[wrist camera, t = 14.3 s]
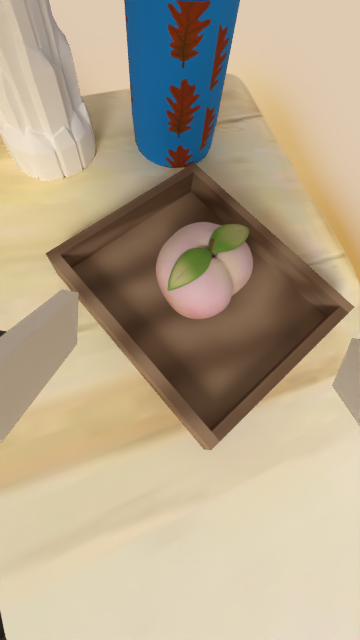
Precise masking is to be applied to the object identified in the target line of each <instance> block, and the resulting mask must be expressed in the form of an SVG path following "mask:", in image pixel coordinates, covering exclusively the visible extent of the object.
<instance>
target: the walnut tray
mask: <svg viewBox="0 0 360 640" xmlns="http://www.w3.org/2000/svg"><path fill="white" fill-rule="evenodd" d="M198 222H209V223H213V224H217V225H221V226H222V225H226V224H239V225H243V226H245V227H247V228H248V229H249V235H248V237H247V239H246V240H245V242H246V243H247V245H248V246H249V248H250V251H251V254H252V258H253V269H252V273H251V276H250V278H249V280H248V281H247V283H246V284H245V285H244V286H243V287H242V288H241V289H240V290H239V291H238V292H237V293H236V294H234V295H233V296H231V300H230V302H229V304H228V305H227V307H226V308H225V309H224V310H223V311H222V312H220V313H219V314H217V315H215V316H213V317H210V318H205V319H191V318H188V317H185V316H183V315H181V314H179V313H178V312H176V311H175V310H174V309H173V308H172V307H171V305H170V304H169V303H168V301H167V300H166V298H165V297H164V295H163V293H162V291H161V289H160V287H159V284H158V281H157V277H156V263H157V258H158V255H159V253H160V251H161V249H162V247H163V245H164V244H165V243H166V242H167V240H168V239H169V238H170V237H171V236H173V235H174V234H175V233H176V232H177V231H178V230H180V229H181V228H183V227H185V226H187V225H190V224H193V223H198ZM46 255H47V257H48V258H49V260H50V262H51V263H52V265H53V267H54V269H55V270H56V272H57V274H58V275H59V276H60V277H61V279H62V280H63V281H64V282H65V283H66V285H67V286H68V287H69V288H70V289H71V291H73V292H78V299H79V300H80V301H81V303H82V304H83V305H84V306H85V307H86V309H87V310H88V311H89V312H90V313H91V315H92V316H93V317H94V318H95V319H96V321H97V322H98V323H99V324H100V325H101V326H102V328H103V329H104V330H105V331H106V332H107V334H108V335H109V336H110V337H111V338H112V340H113V341H114V342H115V343H116V344H117V346H118V347H119V348H120V349H121V350H122V352H123V353H124V354H125V355H126V356H127V358H128V359H129V360H130V361H131V362H132V364H133V365H134V366H135V367H136V368H137V370H138V371H139V372H140V373H141V374H142V376H143V377H144V378H145V379H146V380H147V382H148V383H149V384H150V385H151V386H152V388H153V389H154V390H155V391H156V392H157V394H158V395H159V396H160V397H161V398H162V400H163V401H164V402H165V403H166V404H167V405H168V407H169V408H170V409H171V410H172V411H173V413H174V414H175V415H176V416H177V417H178V419H179V420H180V421H181V422H182V423H183V425H184V426H185V427H186V428H187V429H188V431H189V432H190V433H191V434H192V435H193V437H194V438H195V439H196V440H197V441H198V443H199V444H200V445H201V446H202V447H203V449H207V450H212V449H213V448H214V447H215V446H216V445H217V444H218V443H219V442H220V441H221V440H222V439H223V438H224V437H225V436H226V435H227V434H228V433H229V432H230V431H231V430H232V429H233V428H234V427H235V426H236V425H237V424H238V423H239V422H240V421H241V420H242V419H243V418H244V417H245V416H246V415H247V414H248V413H249V412H250V411H251V410H252V409H253V408H254V407H255V406H256V405H257V404H258V403H259V402H260V401H261V400H262V399H263V398H264V397H265V396H266V395H267V394H268V393H269V392H270V391H271V390H272V389H273V388H274V387H275V386H276V385H277V384H278V383H279V382H280V381H281V380H282V379H283V378H284V377H285V376H286V375H287V374H288V373H289V372H290V371H291V370H292V369H293V368H294V367H295V366H296V365H297V364H298V363H299V362H300V361H301V360H302V359H303V358H304V357H305V356H306V355H307V354H308V353H309V352H310V351H311V350H312V349H313V348H314V347H315V346H316V345H317V344H318V343H319V342H320V341H321V340H322V339H323V338H324V337H325V336H326V335H327V334H328V333H329V332H330V331H331V330H332V329H333V328H334V327H335V326H336V325H337V324H338V323H339V322H340V321H341V320H342V319H343V318H344V317H345V316H346V315H347V314H348V313H349V312H350V311H351V310H352V309H353V308H354V306H352V305H351V304H350V303H349V302H348V301H347V300H346V299H345V298H344V297H342V296H341V295H340V294H339V293H338V292H337V291H336V290H335V289H334V288H332V287H331V286H330V285H329V284H328V283H327V282H326V281H325V280H324V279H322V278H321V277H320V276H319V275H318V274H317V273H316V272H315V271H314V270H312V269H311V268H310V267H309V266H308V265H307V264H306V263H305V262H304V261H302V260H301V259H300V258H299V257H298V256H297V255H296V254H295V253H294V252H292V251H291V250H290V249H289V248H288V247H287V246H286V245H285V244H283V243H282V242H281V241H280V240H279V239H278V238H277V237H276V236H275V235H273V234H272V233H271V232H270V231H269V230H268V229H267V228H266V227H265V226H263V225H262V224H261V223H260V222H259V221H258V220H257V219H256V218H255V217H253V216H252V215H251V214H250V213H249V212H248V211H247V210H246V209H245V208H243V207H242V206H241V205H240V204H239V203H238V202H237V201H236V200H235V199H233V198H232V197H231V196H230V195H229V194H228V193H227V192H226V191H225V190H223V189H222V188H221V187H220V186H219V185H218V184H217V183H216V182H215V181H213V180H212V179H211V178H210V177H209V176H208V175H207V174H206V173H204V172H203V171H202V170H201V169H200V168H199V167H198V166H197V165H196V164H194V163H193V164H192V165H190V166H188V167H187V168H185V169H184V170H182V171H180V172H179V173H177V174H175V175H174V176H172V177H170V178H169V179H167V180H166V181H164V182H162V183H161V184H159V185H157V186H156V187H154V188H152V189H151V190H149V191H147V192H146V193H144V194H143V195H141V196H139V197H138V198H136V199H134V200H133V201H131V202H129V203H128V204H126V205H124V206H123V207H121V208H120V209H118V210H116V211H115V212H113V213H111V214H110V215H108V216H106V217H105V218H103V219H102V220H100V221H98V222H97V223H95V224H93V225H92V226H90V227H88V228H87V229H85V230H83V231H82V232H80V233H79V234H77V235H75V236H74V237H72V238H70V239H69V240H67V241H65V242H64V243H62V244H60V245H59V246H57V247H56V248H54V249H52V250H51V251H49V252H47V253H46Z"/></svg>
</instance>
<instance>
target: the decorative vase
mask: <svg viewBox="0 0 360 640" xmlns="http://www.w3.org/2000/svg"><path fill="white" fill-rule="evenodd" d="M0 135H1V137H2V139H3V141H4V143H5V145H6V147H7V150H8V152H9V154H10V156H11V158H12V159H13V161H14V162H15V164H16V165H17V167H18V168H19V169H20V170H21V171H22V172H23V173H25V174H26V175H28V176H30V177H32V178H34V179H38V178H39V179H40V180H42V181H54V180H62V179H63V178H64V176H66V177H71V176H74V175H76V174H78V173H80V172H82V171H83V168H86V167H87V166H88V165H89V164H90V162H91V161H92V160H93V158H94V156H95V152H96V143H95V138H94V133H93V128H92V123H91V118H90V115H89V112H88V110H87V108H86V106H85V104H84V102H83V100H82V98H81V96H80V91H79V86H78V82H77V77H76V73H75V68H74V63H73V59H72V55H71V51H70V47H69V45H68V42H67V40H66V37H65V35H64V34H63V33H62V31H61V30H60V29H59V28H58V26H57V24H56V22H55V20H54V19H53V16H52V12H51V8H50V4H49V0H0Z"/></svg>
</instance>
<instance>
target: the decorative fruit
mask: <svg viewBox="0 0 360 640" xmlns="http://www.w3.org/2000/svg"><path fill="white" fill-rule="evenodd" d="M248 235H249V229H248V228H247V227H245V226H243V225H239V224H226V225H222V226H221V225H217V224H213V223H209V222H198V223H193V224H190V225H187V226H185V227H183V228H181V229H180V230H178V231H177V232H176V233H175V234H174V235H173V236H171V237H170V238H169V239H168V240H167V242H166V243H165V244H164V245H163V247H162V249H161V251H160V253H159V255H158V258H157V263H156V277H157V281H158V284H159V287H160V289H161V291H162V293H163V295H164V297H165V298H166V300H167V301H168V303H169V304H170V305H171V307H172V308H173V309H174V310H175V311H176V312H178V313H179V314H181V315H183V316H185V317H188V318H191V319H205V318H210V317H213V316H215V315H217V314H219V313H220V312H222V311H223V310H224V309H225V308H226V307H227V305H228V304H229V302H230V300H231V296H233V295H234V294H236V293H237V292H238V291H239V290H240V289H241V288H242V287H243V286H244V285H245V284H246V283H247V281H248V280H249V278H250V276H251V273H252V269H253V258H252V254H251V251H250V248H249V246H248V245H247V243H246V242H245V240H246V239H247V237H248Z"/></svg>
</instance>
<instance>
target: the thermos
mask: <svg viewBox="0 0 360 640" xmlns="http://www.w3.org/2000/svg"><path fill="white" fill-rule="evenodd" d="M124 1H125V15H126V29H127V43H128V59H129V73H130V88H131V102H132V116H133V124H134V131H135V139H136V143H137V146H138V148H139V151H140V152H141V153H142V154H143V155H144V156H145V157H146V158H147V159H148V160H150V161H152V162H154V163H156V164H158V165H161V166H166V167H170V168H178V167H187V166H190V165H192V164H193V163H194V164H196V163H198V162H199V161H200V160H201V159H203V158H204V157H205V156H206V154H207V152H208V150H209V148H210V145H211V141H212V137H213V133H214V129H215V125H216V122H217V116H218V111H219V106H220V101H221V96H222V90H223V85H224V80H225V75H226V70H227V64H228V59H229V54H230V49H231V43H232V38H233V33H234V27H235V23H236V18H237V12H238V7H239V2H240V0H124Z"/></svg>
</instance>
